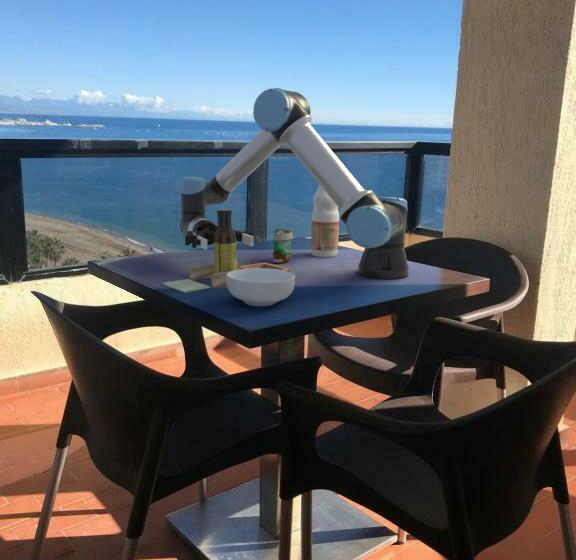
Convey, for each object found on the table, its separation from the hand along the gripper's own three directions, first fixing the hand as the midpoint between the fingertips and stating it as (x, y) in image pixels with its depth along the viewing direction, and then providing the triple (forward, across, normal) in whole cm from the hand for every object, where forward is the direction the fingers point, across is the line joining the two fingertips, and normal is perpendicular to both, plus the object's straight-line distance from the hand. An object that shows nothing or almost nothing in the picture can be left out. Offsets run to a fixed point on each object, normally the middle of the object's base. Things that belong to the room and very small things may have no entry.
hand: (229, 243), depth 164 cm
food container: (-20, -27, -11) cm, 35 cm away
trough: (-3, 0, -11) cm, 11 cm away
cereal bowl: (+22, 0, -11) cm, 25 cm away
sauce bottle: (-3, 0, -11) cm, 12 cm away
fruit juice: (-25, -45, -11) cm, 53 cm away
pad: (0, +13, -11) cm, 17 cm away
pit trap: (-7, -14, -11) cm, 19 cm away
